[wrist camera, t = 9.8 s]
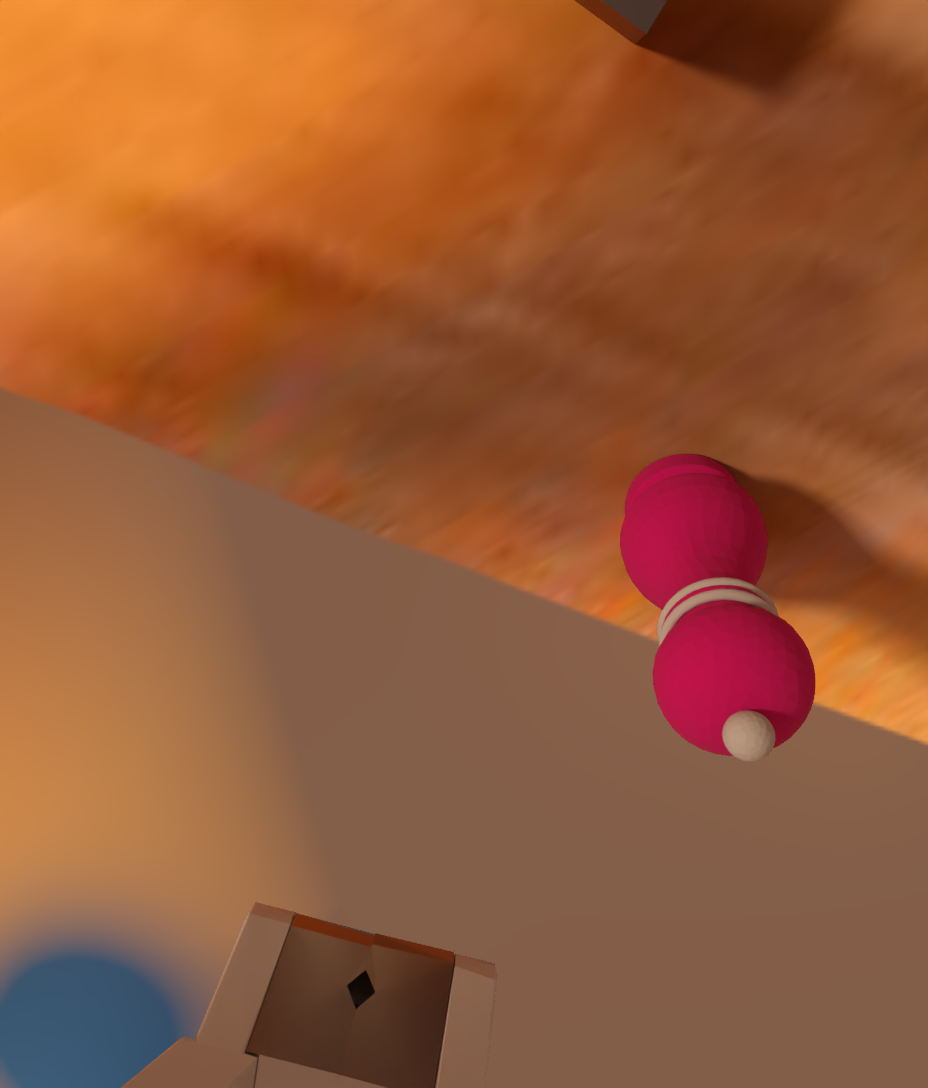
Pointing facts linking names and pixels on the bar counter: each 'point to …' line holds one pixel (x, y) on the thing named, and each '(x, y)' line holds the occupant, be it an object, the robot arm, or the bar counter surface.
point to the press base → (626, 15)
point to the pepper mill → (714, 610)
